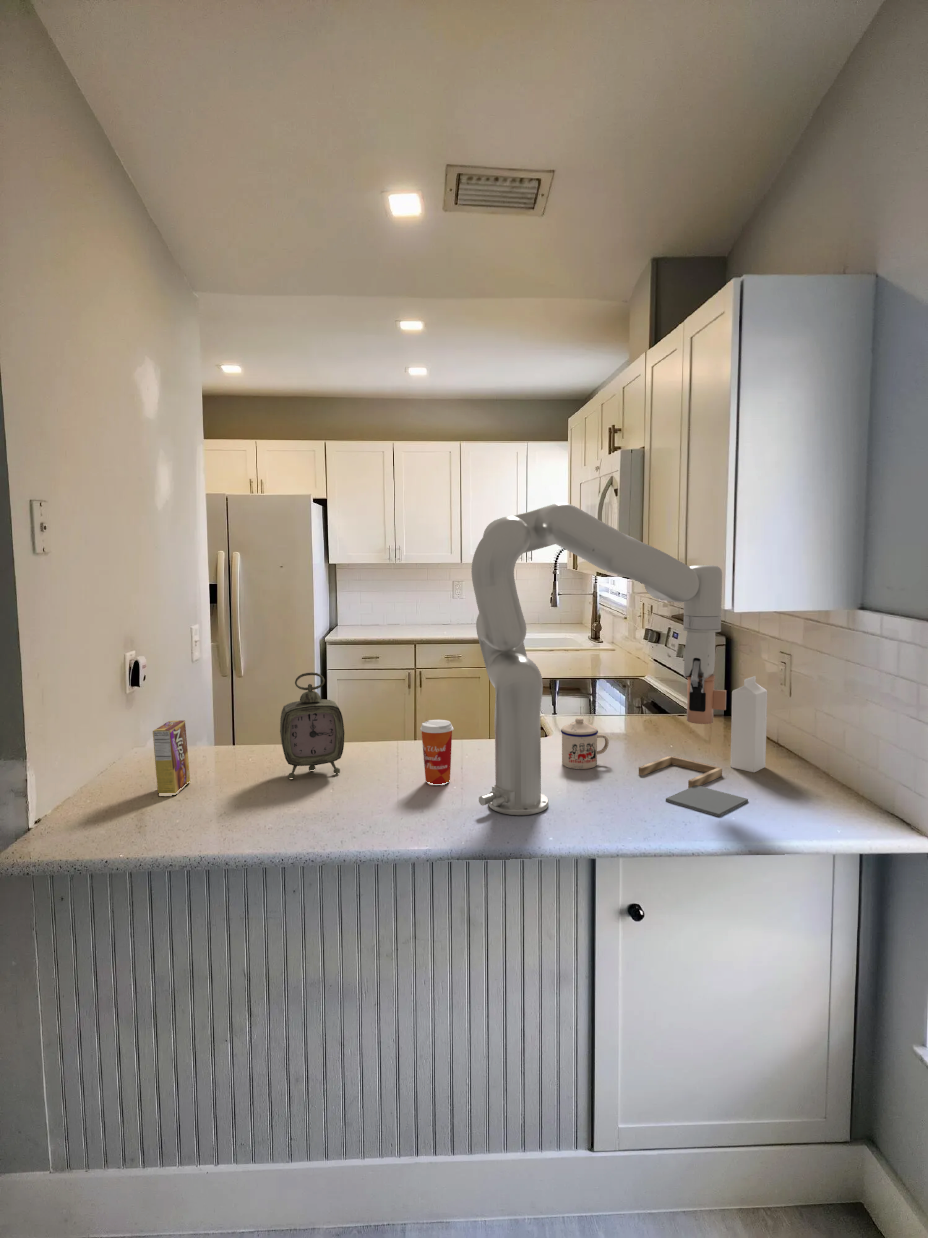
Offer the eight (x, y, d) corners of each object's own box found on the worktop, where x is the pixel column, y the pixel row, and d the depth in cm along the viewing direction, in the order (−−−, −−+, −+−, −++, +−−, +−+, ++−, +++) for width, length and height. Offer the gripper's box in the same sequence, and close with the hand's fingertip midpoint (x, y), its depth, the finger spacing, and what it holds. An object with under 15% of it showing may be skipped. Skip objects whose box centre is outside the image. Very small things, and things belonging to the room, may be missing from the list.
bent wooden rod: (692, 789, 153) (692, 781, 153) (638, 774, 164) (638, 767, 164) (723, 775, 162) (723, 768, 162) (670, 762, 173) (670, 755, 172)
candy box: (172, 783, 163) (168, 720, 162) (190, 783, 163) (187, 719, 162) (156, 797, 154) (151, 730, 153) (175, 796, 154) (171, 729, 153)
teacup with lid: (566, 771, 167) (566, 723, 166) (556, 760, 176) (556, 715, 175) (614, 768, 169) (614, 721, 168) (602, 757, 178) (602, 712, 177)
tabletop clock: (283, 783, 162) (279, 677, 160) (281, 771, 171) (277, 671, 168) (345, 776, 167) (342, 673, 164) (340, 765, 175) (337, 667, 173)
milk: (765, 767, 168) (768, 677, 166) (754, 773, 164) (757, 681, 162) (741, 762, 172) (743, 674, 170) (729, 767, 168) (732, 677, 166)
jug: (683, 722, 147) (684, 676, 146) (688, 716, 153) (689, 671, 152) (722, 726, 144) (724, 679, 143) (727, 720, 149) (728, 674, 148)
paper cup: (415, 784, 159) (413, 725, 158) (432, 775, 166) (430, 717, 165) (444, 789, 156) (443, 728, 154) (460, 779, 162) (459, 721, 161)
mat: (718, 816, 137) (718, 814, 137) (665, 801, 146) (665, 798, 146) (747, 801, 145) (748, 799, 145) (695, 787, 154) (695, 785, 154)
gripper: (691, 619, 156) (689, 698, 158) (675, 627, 141) (673, 714, 143) (727, 620, 152) (724, 702, 154) (713, 628, 137) (711, 718, 139)
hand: (700, 707), depth 148 cm, fingers closed on jug, 5 cm apart
